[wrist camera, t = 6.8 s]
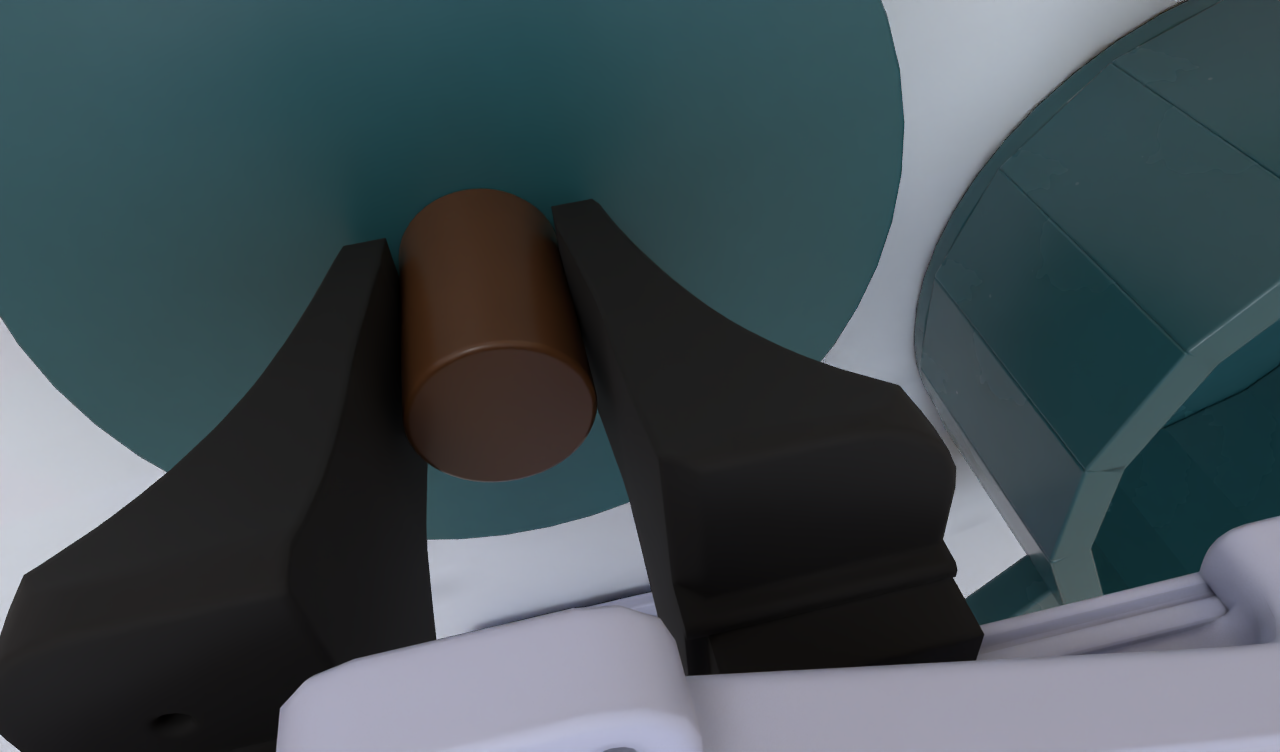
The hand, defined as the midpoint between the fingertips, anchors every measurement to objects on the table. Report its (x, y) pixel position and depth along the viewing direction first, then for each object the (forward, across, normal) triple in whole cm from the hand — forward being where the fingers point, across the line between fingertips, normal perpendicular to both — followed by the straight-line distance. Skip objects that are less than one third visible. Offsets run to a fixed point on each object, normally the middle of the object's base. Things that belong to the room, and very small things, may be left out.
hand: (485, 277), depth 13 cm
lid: (+1, 0, 0) cm, 1 cm away
